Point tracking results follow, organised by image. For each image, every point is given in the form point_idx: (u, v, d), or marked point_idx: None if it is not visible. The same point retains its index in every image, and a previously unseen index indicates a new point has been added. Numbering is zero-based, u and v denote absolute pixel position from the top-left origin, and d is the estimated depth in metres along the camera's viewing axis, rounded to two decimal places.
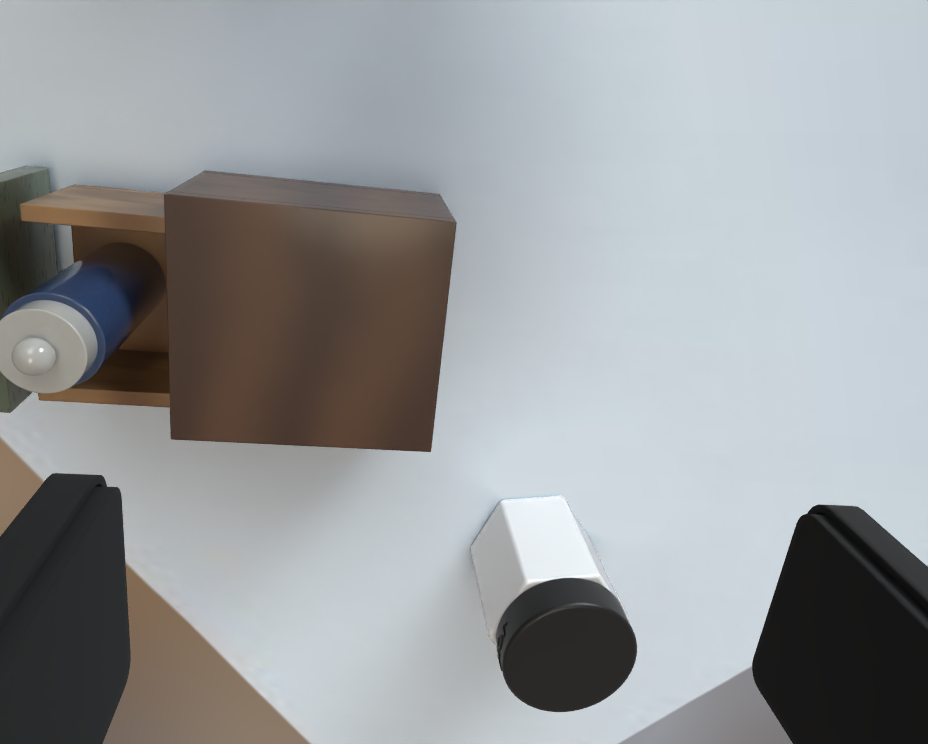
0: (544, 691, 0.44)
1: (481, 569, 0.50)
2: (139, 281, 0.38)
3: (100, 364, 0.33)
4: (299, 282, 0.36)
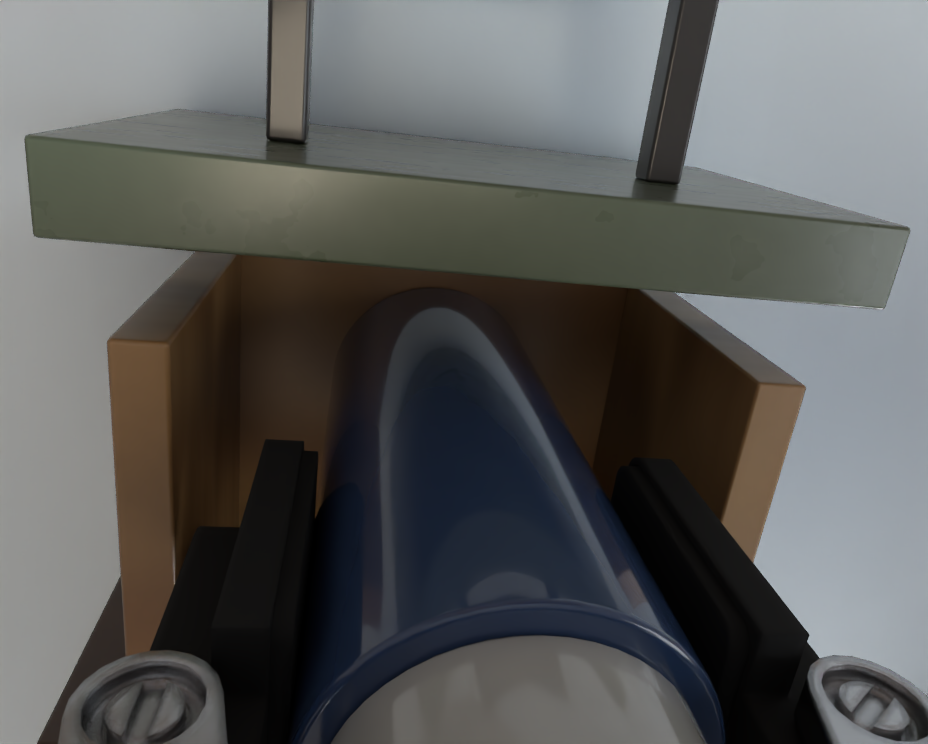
0: None
1: None
2: None
3: None
4: None
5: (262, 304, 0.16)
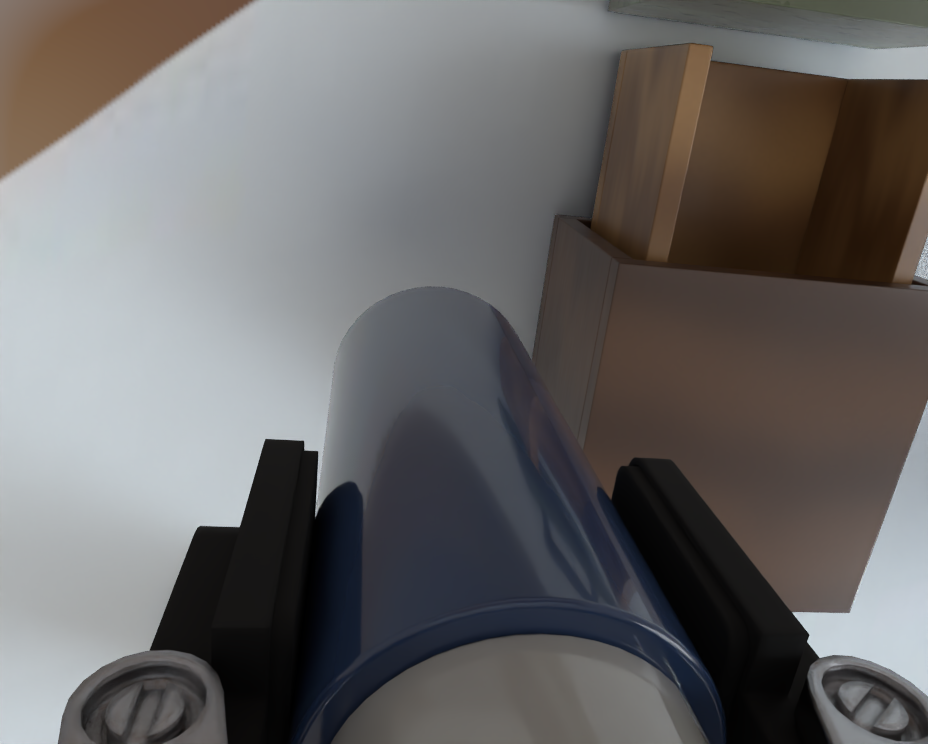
0: None
1: None
2: None
3: None
4: (819, 449, 0.27)
5: None
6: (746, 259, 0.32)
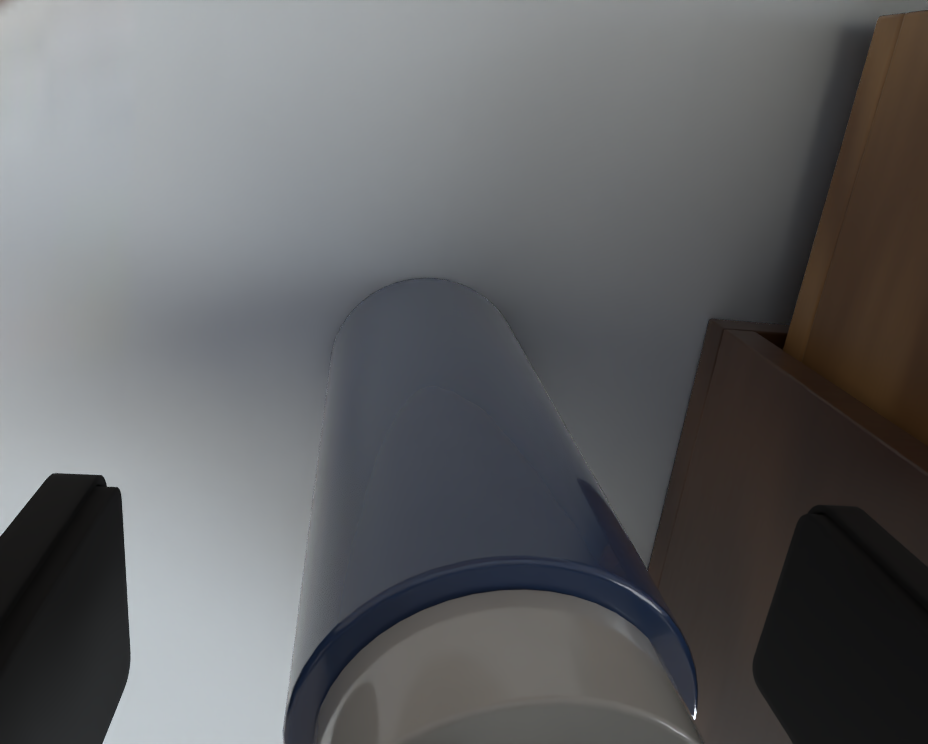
0: None
1: None
2: None
3: None
4: None
5: None
6: None
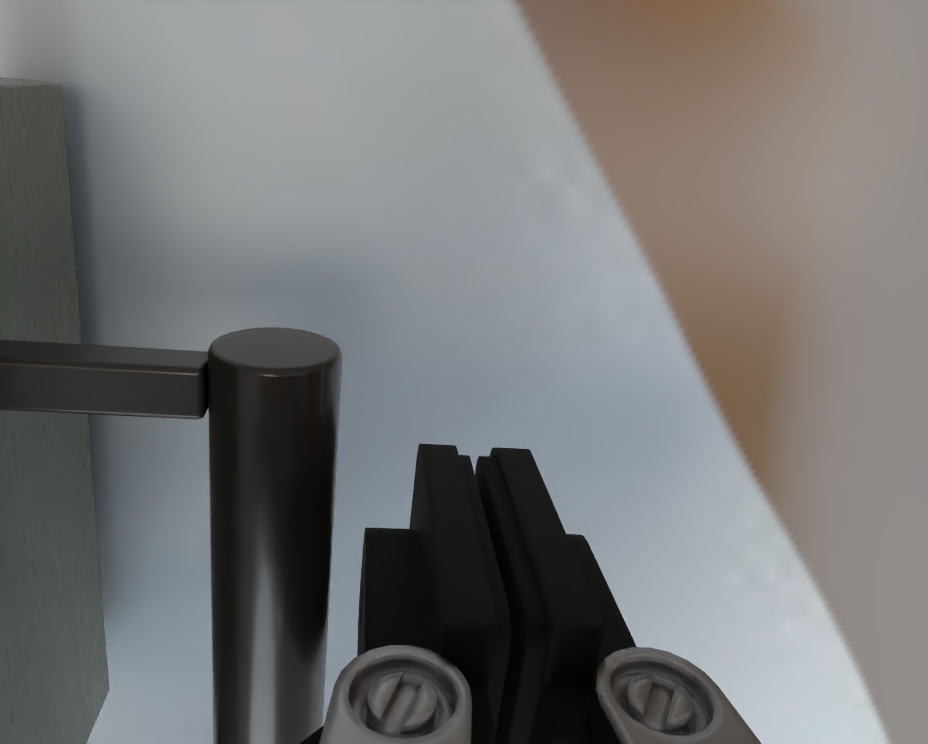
0: None
1: None
2: None
3: None
4: None
5: None
6: None
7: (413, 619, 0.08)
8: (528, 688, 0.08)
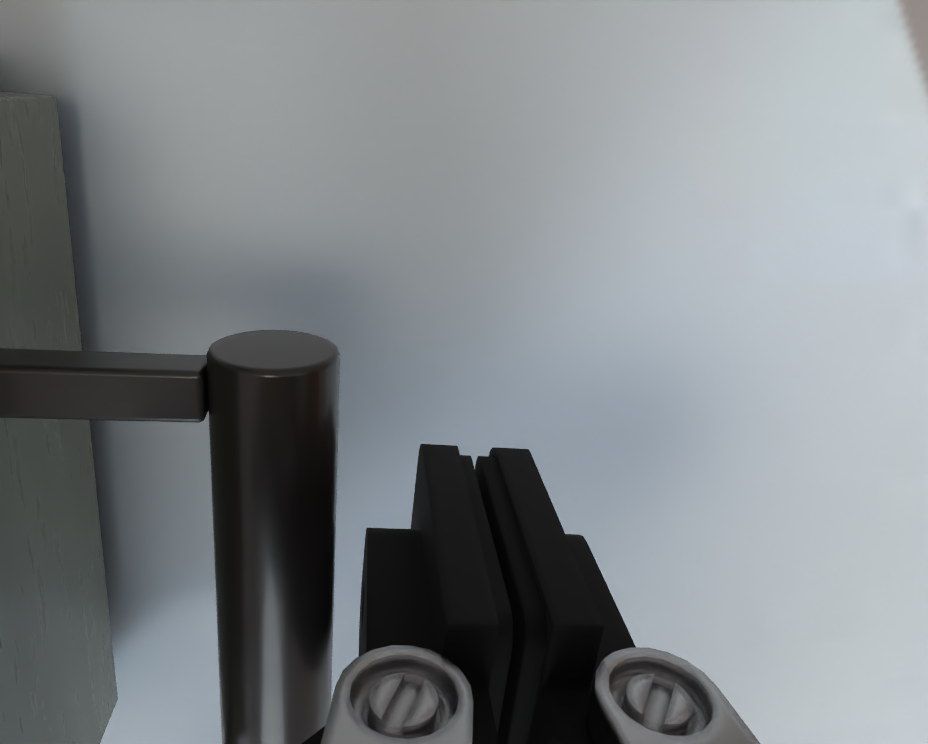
0: None
1: None
2: None
3: None
4: None
5: None
6: None
7: (415, 619, 0.08)
8: (527, 688, 0.08)
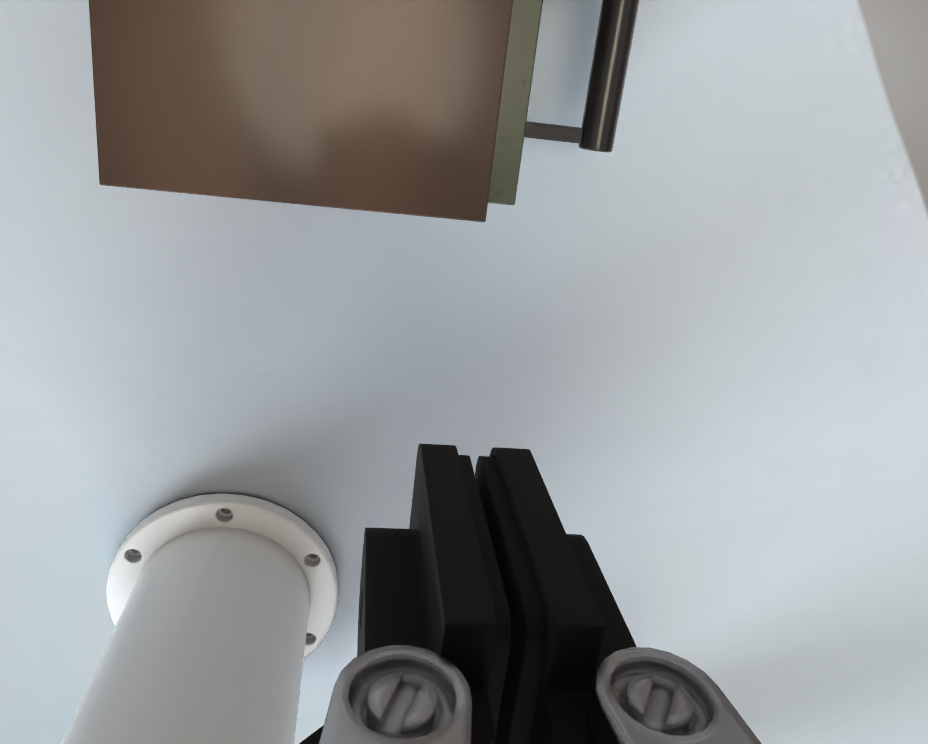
0: None
1: None
2: None
3: None
4: (320, 98, 0.25)
5: None
6: None
7: (413, 619, 0.08)
8: (528, 688, 0.08)
